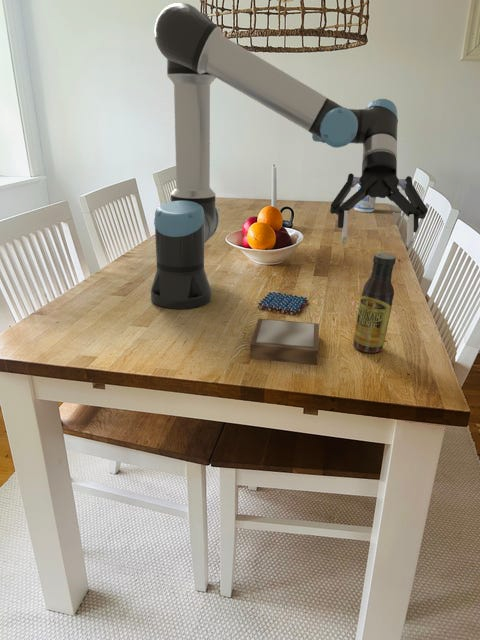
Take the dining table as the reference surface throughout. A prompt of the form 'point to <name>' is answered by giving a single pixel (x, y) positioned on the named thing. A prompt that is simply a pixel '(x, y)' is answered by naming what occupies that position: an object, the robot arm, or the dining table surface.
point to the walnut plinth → (285, 341)
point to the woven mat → (283, 303)
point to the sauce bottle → (375, 306)
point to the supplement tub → (365, 203)
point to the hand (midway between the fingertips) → (376, 242)
